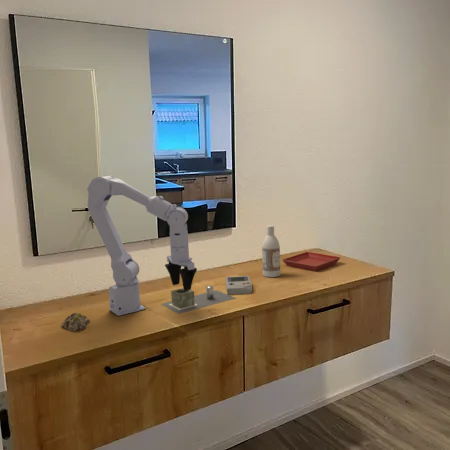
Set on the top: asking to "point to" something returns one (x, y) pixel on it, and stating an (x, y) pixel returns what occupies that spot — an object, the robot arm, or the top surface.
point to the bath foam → (271, 254)
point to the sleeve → (182, 298)
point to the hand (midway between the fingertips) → (181, 287)
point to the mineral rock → (75, 322)
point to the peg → (209, 292)
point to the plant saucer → (311, 261)
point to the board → (201, 302)
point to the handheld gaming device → (238, 285)
